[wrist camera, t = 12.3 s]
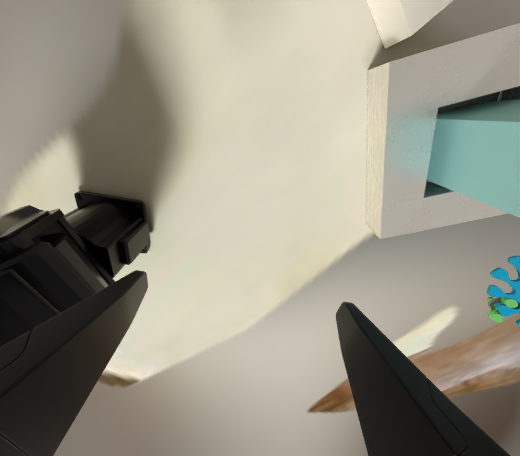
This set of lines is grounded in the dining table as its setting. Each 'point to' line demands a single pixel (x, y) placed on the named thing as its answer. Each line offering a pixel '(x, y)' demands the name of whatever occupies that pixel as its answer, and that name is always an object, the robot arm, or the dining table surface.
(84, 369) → the robot arm
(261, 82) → the dining table surface
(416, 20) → the white flat square block
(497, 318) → the blue splat disc
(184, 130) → the dining table surface
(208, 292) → the dining table surface
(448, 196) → the hole plate
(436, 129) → the teal square peg
